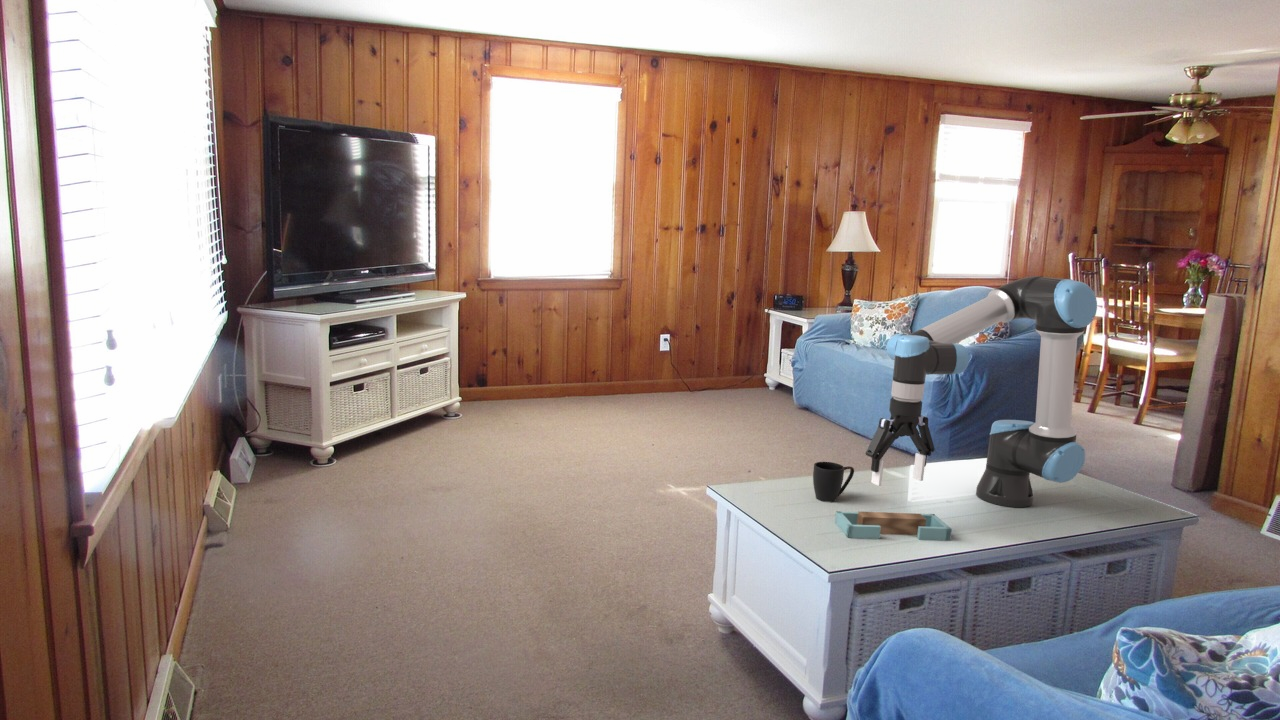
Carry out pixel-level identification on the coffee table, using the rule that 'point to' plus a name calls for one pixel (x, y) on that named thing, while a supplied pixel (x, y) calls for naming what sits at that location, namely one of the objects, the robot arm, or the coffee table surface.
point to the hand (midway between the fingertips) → (897, 481)
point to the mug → (829, 480)
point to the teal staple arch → (933, 529)
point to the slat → (893, 522)
